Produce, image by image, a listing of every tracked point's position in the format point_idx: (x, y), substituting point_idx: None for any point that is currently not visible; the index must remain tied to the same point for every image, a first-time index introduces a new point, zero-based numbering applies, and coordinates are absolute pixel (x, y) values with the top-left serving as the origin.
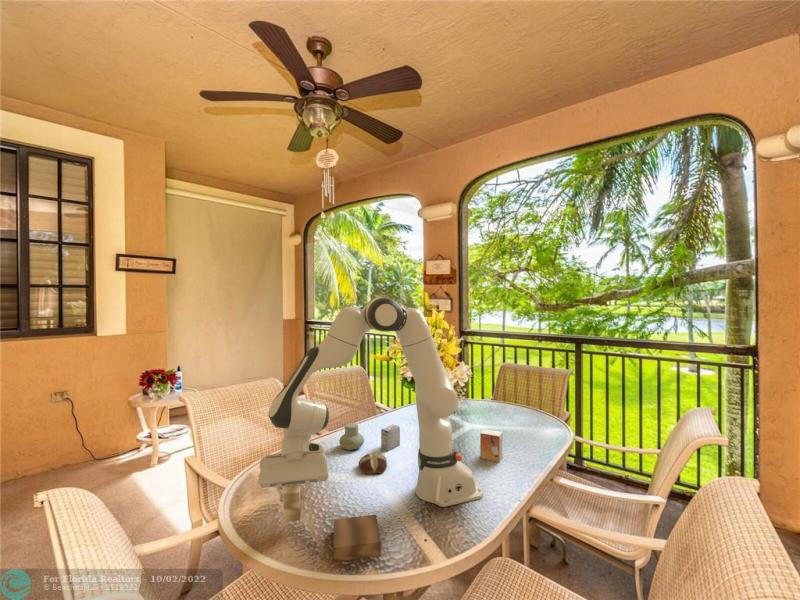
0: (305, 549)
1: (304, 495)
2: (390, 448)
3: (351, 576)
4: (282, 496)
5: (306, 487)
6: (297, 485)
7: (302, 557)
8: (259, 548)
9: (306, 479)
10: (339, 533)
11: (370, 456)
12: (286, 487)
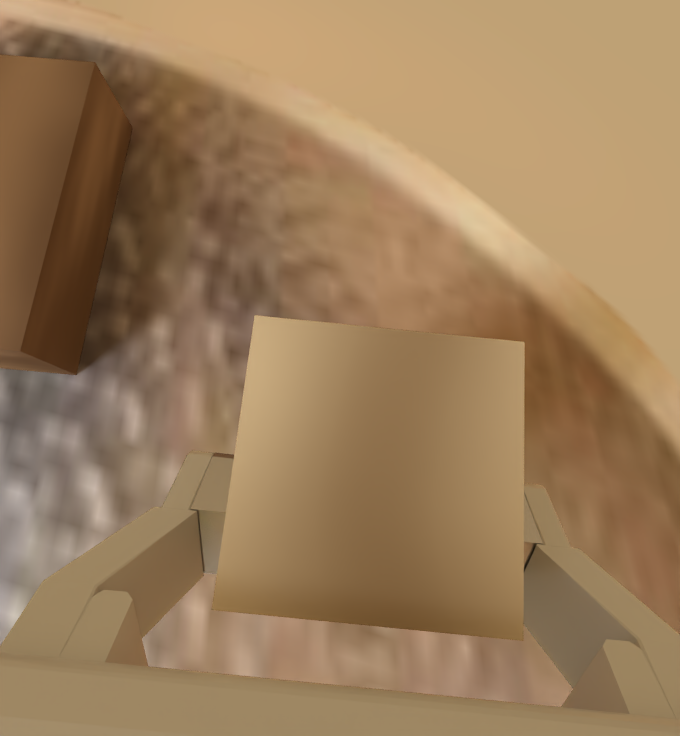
0: (274, 257)
1: (200, 459)
2: None
3: (71, 23)
4: None
5: (130, 544)
6: (283, 578)
7: (293, 199)
8: (553, 341)
9: (51, 658)
10: (25, 175)
11: None
12: (495, 567)
